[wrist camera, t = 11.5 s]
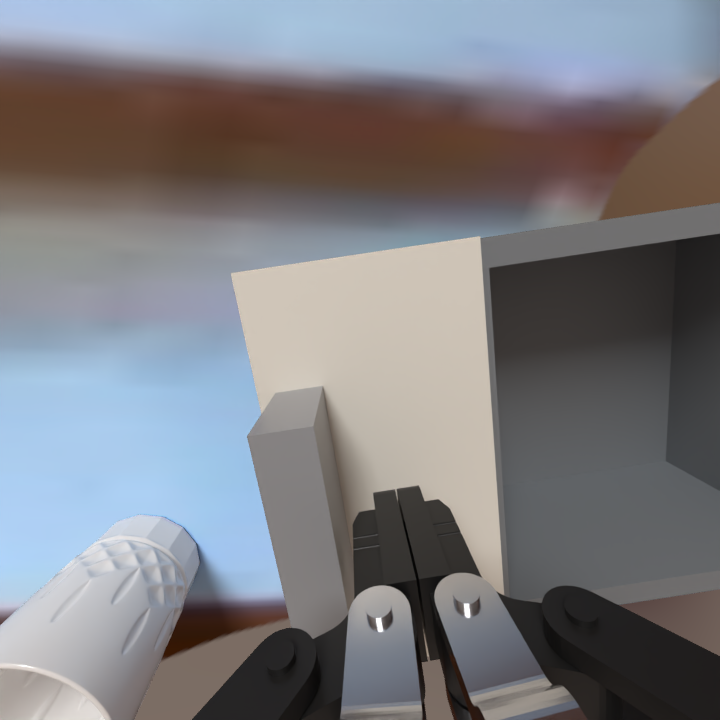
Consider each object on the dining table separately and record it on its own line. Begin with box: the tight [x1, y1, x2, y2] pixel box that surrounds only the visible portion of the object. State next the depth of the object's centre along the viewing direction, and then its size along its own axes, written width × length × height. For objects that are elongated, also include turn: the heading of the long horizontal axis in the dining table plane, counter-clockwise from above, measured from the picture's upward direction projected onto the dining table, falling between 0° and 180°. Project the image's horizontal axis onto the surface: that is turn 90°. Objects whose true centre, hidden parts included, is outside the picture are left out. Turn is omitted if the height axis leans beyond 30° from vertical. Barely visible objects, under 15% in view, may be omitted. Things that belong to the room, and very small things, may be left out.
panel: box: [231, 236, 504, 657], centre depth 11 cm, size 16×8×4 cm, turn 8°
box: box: [480, 203, 720, 605], centre depth 18 cm, size 16×16×9 cm
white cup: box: [0, 514, 200, 720], centre depth 19 cm, size 8×8×10 cm
